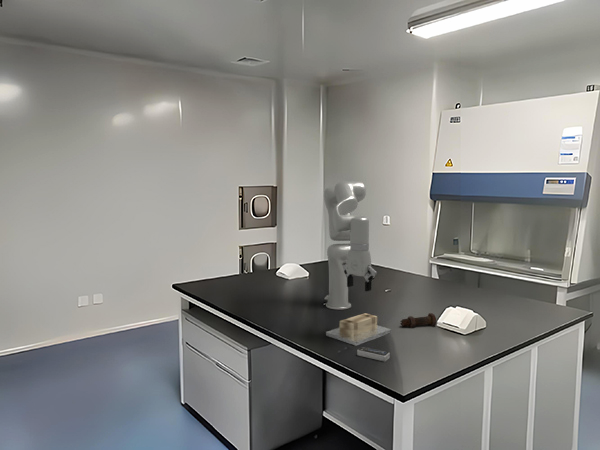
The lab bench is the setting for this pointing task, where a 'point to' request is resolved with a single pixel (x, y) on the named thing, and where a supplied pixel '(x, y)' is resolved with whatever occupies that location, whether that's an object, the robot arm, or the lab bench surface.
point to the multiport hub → (373, 354)
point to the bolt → (419, 321)
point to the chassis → (361, 337)
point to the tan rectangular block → (358, 324)
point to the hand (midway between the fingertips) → (358, 288)
